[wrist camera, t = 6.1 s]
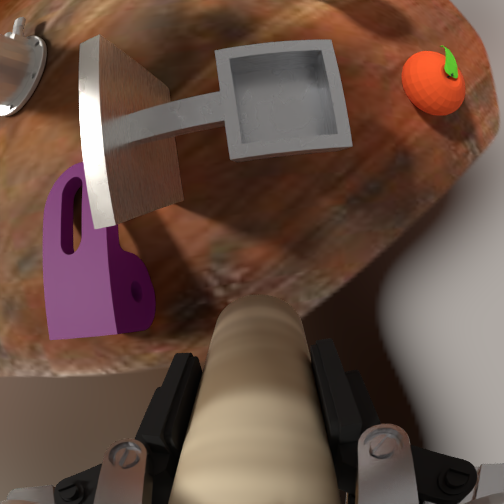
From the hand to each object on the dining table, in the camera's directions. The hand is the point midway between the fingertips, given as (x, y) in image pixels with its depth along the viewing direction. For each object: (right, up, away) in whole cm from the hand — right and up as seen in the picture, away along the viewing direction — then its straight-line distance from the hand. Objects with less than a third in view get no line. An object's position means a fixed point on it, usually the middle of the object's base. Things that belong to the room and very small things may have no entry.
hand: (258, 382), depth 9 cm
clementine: (+18, +23, +14) cm, 32 cm away
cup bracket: (-2, +16, +16) cm, 23 cm away
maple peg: (0, +1, +3) cm, 3 cm away
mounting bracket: (-17, +6, +20) cm, 27 cm away
